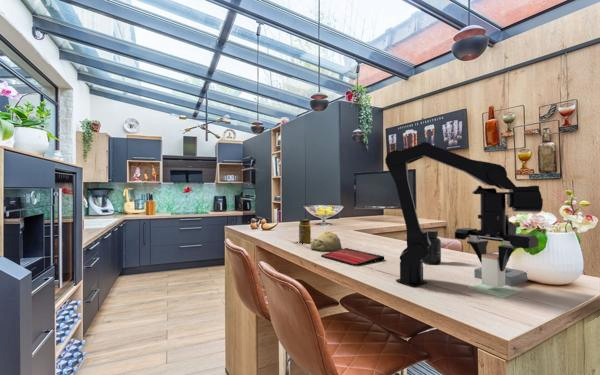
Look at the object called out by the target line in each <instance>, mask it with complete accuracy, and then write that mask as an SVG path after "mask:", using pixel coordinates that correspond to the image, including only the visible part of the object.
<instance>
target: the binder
mask: <svg viewBox="0 0 600 375" xmlns="http://www.w3.org/2000/svg"><path fill="white" fill-rule="evenodd" d="M320 257H322V258H324V259H329V260H332V261H336V262H340V263H343V264H346V265H348V266H351V267H359V266H363V265H369V264H374V263H379V261H385V256H384V255H380V254H377V253H376V254H375V253H371V252H365V251H361V250H356V249H353V248H348V247H346V248H345V247H344V248H341V249H340V250H337V251H334V250H333V251H331V252H330V251H329V252H327V253H322V254H321V255H320Z"/></svg>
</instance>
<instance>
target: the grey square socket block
mask: <svg viewBox="0 0 600 375" xmlns="http://www.w3.org/2000/svg"><path fill="white" fill-rule="evenodd" d="M524 271H525V270H520V269H515V268H510V267H507V266H506V267H505V286H507V287H513V286H516V285H519V284H521V283H525V282H528V279H529V278H528V277H527V273H526V272H527V271H526V272H524ZM473 274H474V278H475V279H480V280H482V266H481V267H478V268H474V273H473Z"/></svg>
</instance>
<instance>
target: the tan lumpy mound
mask: <svg viewBox="0 0 600 375" xmlns="http://www.w3.org/2000/svg"><path fill="white" fill-rule="evenodd" d="M311 242H312V243H310V249H311V250H315V251H321V252H330V251H331V252H334V251H338V250H341V249H343V248H342V243H341V240H340V238H339V236H338V234H336V233H333V232H330V231H325V232H324V233H322V234H320V235H319V236H317V237H315V238H314V239H313V241H312V240H311Z"/></svg>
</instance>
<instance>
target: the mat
mask: <svg viewBox="0 0 600 375" xmlns="http://www.w3.org/2000/svg"><path fill="white" fill-rule="evenodd" d="M467 289H469V290H472V291H476V292H479V293H484V294H487V295H490V296H494V297H497V298H501V299H505V298H508V297H511V296H513V295H515V294H519V293H520V292H522V290H519V289H518V290H517V289H514V288H511V287H508V286H507V287H505V286H502V287H499V288H496V287H492V286H488V285H484V284H482V282H480V283H479V284H475V285H473V286H469V287H467Z"/></svg>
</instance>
